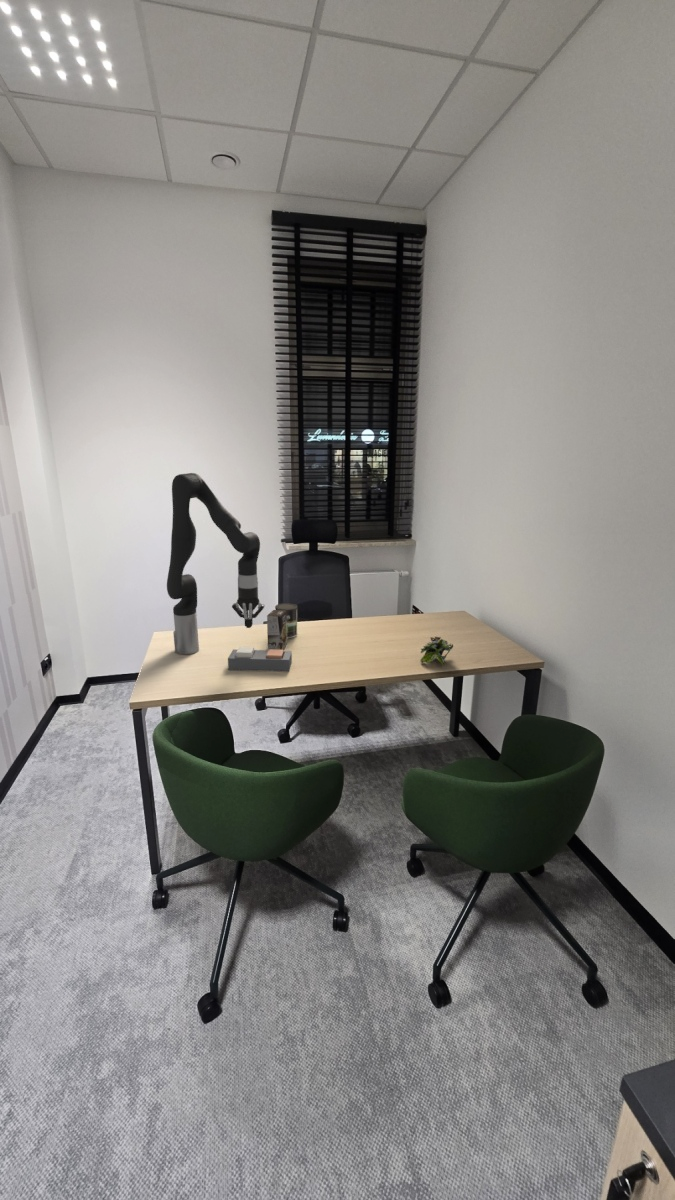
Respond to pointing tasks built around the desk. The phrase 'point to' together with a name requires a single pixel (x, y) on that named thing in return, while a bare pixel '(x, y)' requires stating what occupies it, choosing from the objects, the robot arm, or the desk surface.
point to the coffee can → (290, 618)
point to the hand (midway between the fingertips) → (248, 627)
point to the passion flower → (435, 650)
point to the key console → (260, 662)
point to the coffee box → (277, 629)
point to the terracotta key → (275, 653)
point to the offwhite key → (245, 652)
